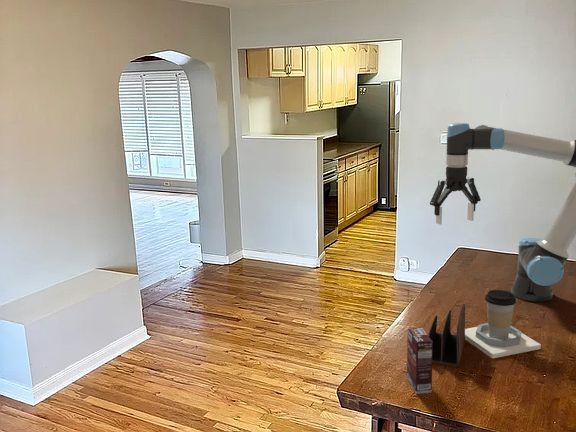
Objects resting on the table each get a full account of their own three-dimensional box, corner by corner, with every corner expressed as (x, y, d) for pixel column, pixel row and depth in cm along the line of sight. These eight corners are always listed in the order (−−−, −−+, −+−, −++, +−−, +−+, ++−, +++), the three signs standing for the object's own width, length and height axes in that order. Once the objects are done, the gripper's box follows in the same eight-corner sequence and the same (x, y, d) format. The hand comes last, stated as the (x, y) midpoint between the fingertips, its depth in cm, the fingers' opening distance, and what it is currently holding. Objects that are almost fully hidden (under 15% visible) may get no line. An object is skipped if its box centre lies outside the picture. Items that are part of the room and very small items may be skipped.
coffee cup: (516, 344, 169) (519, 300, 165) (485, 342, 171) (487, 299, 167) (510, 331, 178) (513, 289, 174) (480, 329, 180) (483, 288, 176)
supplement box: (405, 378, 154) (406, 328, 151) (422, 377, 155) (423, 327, 151) (415, 394, 146) (416, 342, 142) (432, 393, 146) (433, 340, 143)
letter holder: (464, 339, 177) (466, 300, 174) (458, 368, 159) (460, 325, 156) (434, 335, 181) (435, 296, 178) (425, 362, 163) (426, 320, 160)
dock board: (503, 326, 185) (503, 316, 185) (540, 348, 168) (541, 338, 168) (458, 334, 181) (458, 324, 180) (492, 358, 164) (492, 348, 163)
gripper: (479, 162, 201) (477, 216, 206) (421, 167, 194) (420, 223, 199) (492, 164, 194) (489, 220, 199) (432, 169, 187) (430, 227, 192)
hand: (454, 222), depth 199 cm, fingers open, 13 cm apart
